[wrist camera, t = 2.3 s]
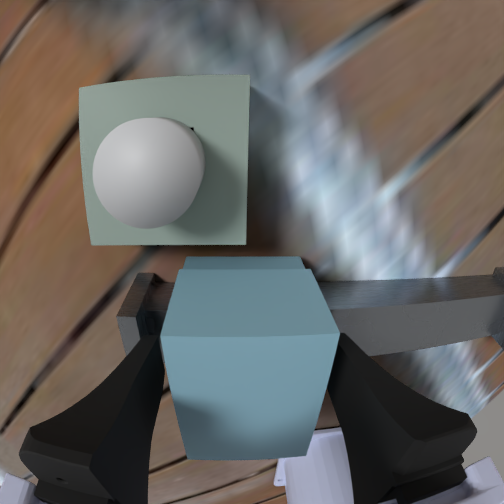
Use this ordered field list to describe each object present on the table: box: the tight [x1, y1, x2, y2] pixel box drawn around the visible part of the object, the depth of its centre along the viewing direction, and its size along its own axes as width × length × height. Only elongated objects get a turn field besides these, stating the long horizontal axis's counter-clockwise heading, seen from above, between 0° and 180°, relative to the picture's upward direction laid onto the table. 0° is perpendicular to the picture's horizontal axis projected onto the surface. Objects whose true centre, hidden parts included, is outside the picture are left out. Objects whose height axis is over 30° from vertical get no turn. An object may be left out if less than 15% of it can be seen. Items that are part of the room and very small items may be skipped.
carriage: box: [160, 257, 340, 460], centre depth 13 cm, size 7×5×6 cm
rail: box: [116, 267, 504, 363], centre depth 15 cm, size 4×22×4 cm, turn 89°
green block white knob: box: [79, 75, 250, 245], centre depth 11 cm, size 6×6×5 cm
